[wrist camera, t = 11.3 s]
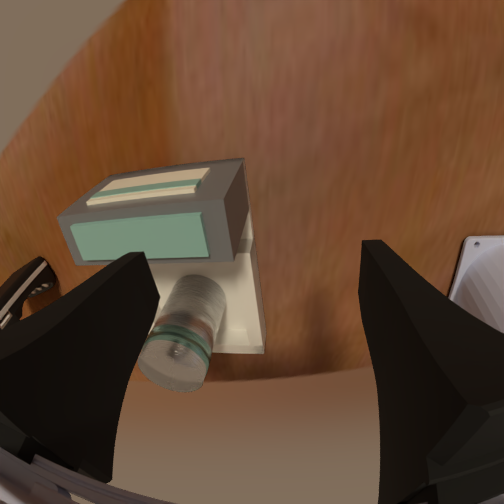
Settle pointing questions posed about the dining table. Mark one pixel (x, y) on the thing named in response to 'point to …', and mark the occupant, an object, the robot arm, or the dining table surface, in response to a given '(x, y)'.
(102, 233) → the charging station
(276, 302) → the dining table surface
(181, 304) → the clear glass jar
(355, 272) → the dining table surface
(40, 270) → the battery charger
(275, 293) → the dining table surface
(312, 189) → the dining table surface
